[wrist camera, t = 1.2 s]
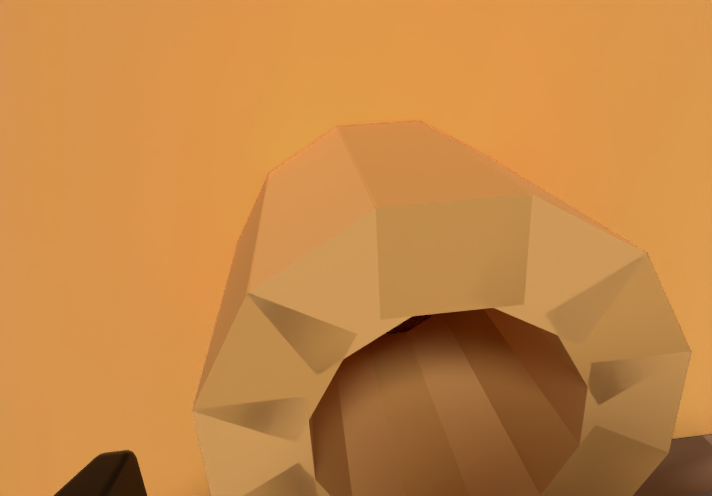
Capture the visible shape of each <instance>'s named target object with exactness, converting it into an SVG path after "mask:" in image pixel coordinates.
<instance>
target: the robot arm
mask: <svg viewBox="0 0 712 496" xmlns="http://www.w3.org/2000/svg"><path fill="white" fill-rule="evenodd" d="M54 496H147V493H146V489H145V486H144V482H143V479H142V475H141V472H140V468H139V465H138V461H137V458H136V456H135V454H134V453H133V452H132V451H129V450H124V451H116V452H107V453H103V454H100V455H98V456H97V457H96V458H94V459H93V460H92V461H91V462H90V463H89V464H88V465H87V466H86V467H84V468H83V469H82V470H81V471H80V472H79V473H78V474H77V475H76V476H75V477H73V478H72V479H71V480H70V481H69V482H68V483H67V484H66V485H65V486H64V487H62V488H61V489H60V490H59V491H58V492H57V493H56V494H55V495H54Z"/></svg>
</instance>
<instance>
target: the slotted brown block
mask: <svg viewBox="0 0 712 496" xmlns="http://www.w3.org/2000/svg"><path fill="white" fill-rule="evenodd" d="M633 496H712V434H711V435H703V436H695V437H688V438H680V439H673V440H671V445H670V449H669V453H668V455H667V456H666V457H665V458H664V459H663V460H662V462H661V463H660V464H659V465H658V466H657V468H656V469H655V470H654V471H653V472H652V473H651V475H650V476H649V477H648V478H647V479H646V480H645V482H644V483H643V484H642V485H641V486H640V488H639V489H638V490H637V491H636V492H635V493H634V495H633Z"/></svg>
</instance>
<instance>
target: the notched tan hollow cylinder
mask: <svg viewBox="0 0 712 496" xmlns="http://www.w3.org/2000/svg"><path fill="white" fill-rule="evenodd" d="M429 314H434V315H433V316H431V317H429V318H428V319H426V320H425V321H423V322H421V323H420V324H418V325H416V326H415V327H413V328H412V329H410V330H408V331H407V332H400V333H391V334H385V333H386V332H388V331H390V330H391V329H393V328H394V327H396V326H398V325H399V324H401V323H402V322H404V321H406V320H407V319H409V318H410V317H412V316H420V315H429ZM691 353H692V351H691V350H690V347H689V345H688V343H687V341H686V338H685V336H684V334H683V332H682V330H681V327H680V325H679V323H678V321H677V318H676V316H675V314H674V312H673V309H672V307H671V305H670V303H669V301H668V298H667V296H666V294H665V292H664V289H663V287H662V285H661V283H660V280H659V278H658V276H657V274H656V271H655V269H654V267H653V265H652V263H651V260H650V258H649V256H648V253H647V252H645V251H643V250H642V249H640V248H639V247H637V246H635V245H634V244H632V243H630V242H629V241H627V240H625V239H624V238H622V237H620V236H619V235H617V234H615V233H614V232H612V231H610V230H609V229H607V228H606V227H604V226H602V225H601V224H599V223H597V222H596V221H594V220H592V219H591V218H589V217H587V216H586V215H584V214H582V213H581V212H579V211H578V210H576V209H574V208H573V207H571V206H569V205H568V204H566V203H564V202H563V201H561V200H559V199H558V198H556V197H554V196H553V195H551V194H550V193H548V192H546V191H545V190H543V189H541V188H540V187H538V186H536V185H535V184H533V183H531V182H530V181H528V180H526V179H525V178H523V177H522V176H520V175H518V174H517V173H515V172H513V171H512V170H510V169H508V168H507V167H505V166H503V165H502V164H500V163H498V162H497V161H495V160H493V159H492V158H490V157H489V156H486V155H484V154H482V153H481V152H479V151H477V150H475V149H473V148H471V147H469V146H467V145H465V144H463V143H461V142H459V141H458V140H456V139H454V138H452V137H450V136H448V135H446V134H444V133H442V132H440V131H438V130H436V129H434V128H433V127H431V126H429V125H427V124H425V123H423V122H421V121H408V122H394V123H381V124H368V125H354V126H341V127H336V128H334V129H333V130H331V131H330V132H329V133H327V134H326V135H324V136H323V137H321V138H320V139H318V140H317V141H316V142H314V143H313V144H311V145H310V146H308V147H307V148H305V149H304V150H302V151H301V152H300V153H298V154H297V155H295V156H294V157H292V158H291V159H289V160H288V161H286V162H285V163H284V164H282V165H281V166H279V167H278V168H276V169H275V170H273V171H272V172H271V173H269V174H268V177H267V179H266V181H265V183H264V185H263V188H262V190H261V192H260V194H259V196H258V199H257V201H256V203H255V205H254V208H253V210H252V212H251V214H250V216H249V219H248V221H247V223H246V225H245V228H244V230H243V232H242V234H241V236H240V239H239V241H238V243H237V246H236V249H235V253H234V257H233V260H232V264H231V268H230V271H229V275H228V279H227V282H226V286H225V290H224V293H223V297H222V301H221V304H220V308H219V312H218V315H217V319H216V323H215V326H214V330H213V334H212V337H211V341H210V345H209V348H208V352H207V355H206V359H205V363H204V366H203V370H202V374H201V377H200V381H199V385H198V388H197V392H196V396H195V399H194V403H193V407H192V413H193V417H194V422H195V427H196V431H197V436H198V440H199V445H200V450H201V454H202V459H203V463H204V468H205V472H206V477H207V482H208V486H209V491H210V495H211V496H633V495H634V493H635V492H636V491H637V490H638V489H639V488H640V486H641V485H642V484H643V483H644V482H645V480H646V479H647V478H648V477H649V476H650V475H651V473H652V472H653V471H654V470H655V469H656V468H657V466H658V465H659V464H660V463H661V462H662V460H663V459H664V458H665V457H666V456H667V455H668V453H669V449H670V445H671V440H672V436H673V431H674V427H675V423H676V418H677V414H678V409H679V405H680V400H681V396H682V392H683V387H684V383H685V378H686V374H687V369H688V365H689V361H690V356H691Z"/></svg>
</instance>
